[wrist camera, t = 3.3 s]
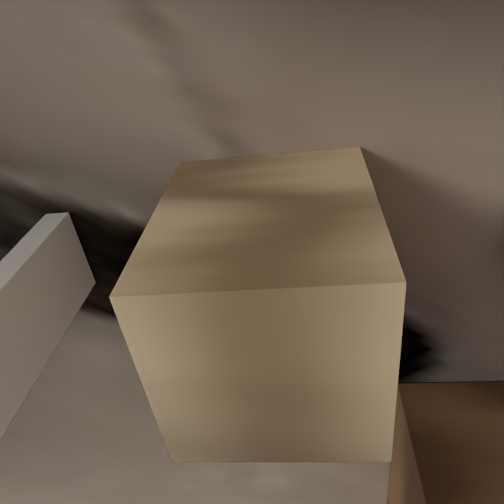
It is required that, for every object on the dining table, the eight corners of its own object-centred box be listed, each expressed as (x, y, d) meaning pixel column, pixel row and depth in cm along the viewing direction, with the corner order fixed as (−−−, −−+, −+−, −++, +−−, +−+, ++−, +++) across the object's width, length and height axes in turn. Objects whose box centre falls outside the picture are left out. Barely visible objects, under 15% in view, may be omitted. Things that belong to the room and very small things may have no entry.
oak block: (210, 298, 16) (171, 461, 11) (180, 161, 13) (108, 296, 8) (358, 291, 15) (391, 462, 10) (359, 145, 12) (406, 282, 7)
